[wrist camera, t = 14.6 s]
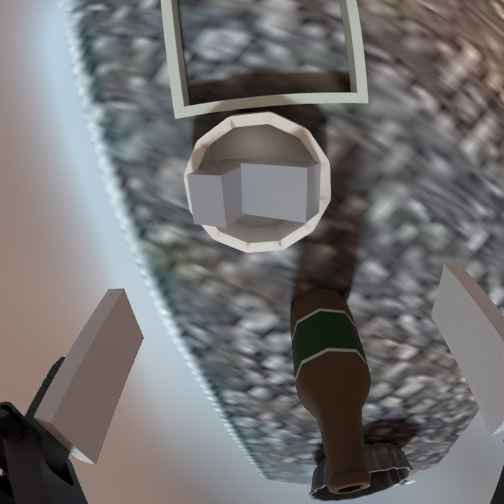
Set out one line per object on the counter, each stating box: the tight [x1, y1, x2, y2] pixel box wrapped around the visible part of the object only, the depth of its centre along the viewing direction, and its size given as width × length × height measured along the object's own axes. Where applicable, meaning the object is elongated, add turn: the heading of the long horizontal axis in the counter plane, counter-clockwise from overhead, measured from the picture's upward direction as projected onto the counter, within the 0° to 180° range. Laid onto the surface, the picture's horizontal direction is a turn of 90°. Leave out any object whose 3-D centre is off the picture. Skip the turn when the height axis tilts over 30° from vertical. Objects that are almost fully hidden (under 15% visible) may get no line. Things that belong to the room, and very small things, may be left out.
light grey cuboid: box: [241, 159, 321, 223], centre depth 26 cm, size 4×3×6 cm
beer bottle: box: [290, 288, 372, 494], centre depth 28 cm, size 8×8×24 cm
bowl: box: [184, 111, 331, 253], centre depth 29 cm, size 13×13×4 cm
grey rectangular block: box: [187, 159, 254, 228], centre depth 27 cm, size 4×3×6 cm
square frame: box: [161, 0, 368, 119], centre depth 22 cm, size 18×18×2 cm
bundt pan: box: [309, 442, 414, 501], centre depth 58 cm, size 26×26×10 cm
